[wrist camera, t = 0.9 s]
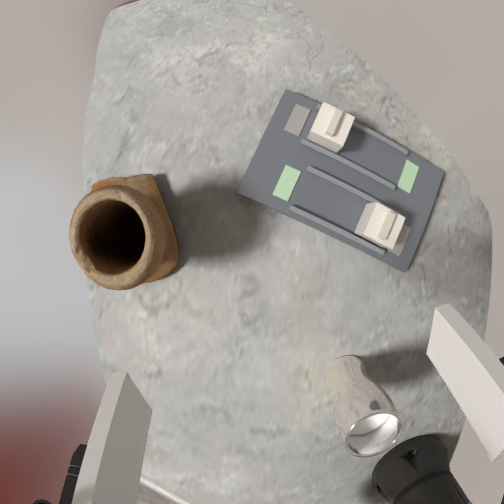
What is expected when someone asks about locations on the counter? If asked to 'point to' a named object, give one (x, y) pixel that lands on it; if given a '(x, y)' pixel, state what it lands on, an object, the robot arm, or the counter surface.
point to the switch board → (340, 180)
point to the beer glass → (362, 409)
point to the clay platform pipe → (123, 233)
